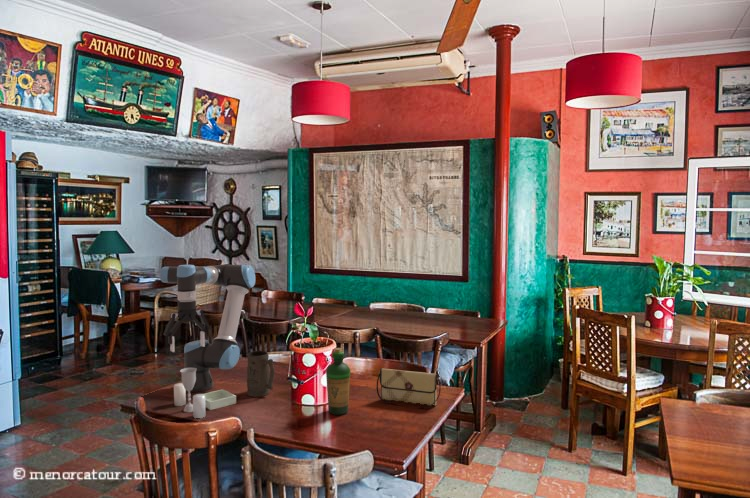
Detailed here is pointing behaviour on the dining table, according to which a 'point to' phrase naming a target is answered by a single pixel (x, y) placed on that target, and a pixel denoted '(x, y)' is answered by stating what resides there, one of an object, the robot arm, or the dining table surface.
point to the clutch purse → (408, 386)
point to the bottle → (338, 384)
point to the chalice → (188, 384)
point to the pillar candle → (199, 406)
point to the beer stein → (259, 374)
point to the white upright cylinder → (179, 395)
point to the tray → (219, 399)
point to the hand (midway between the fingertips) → (187, 348)
